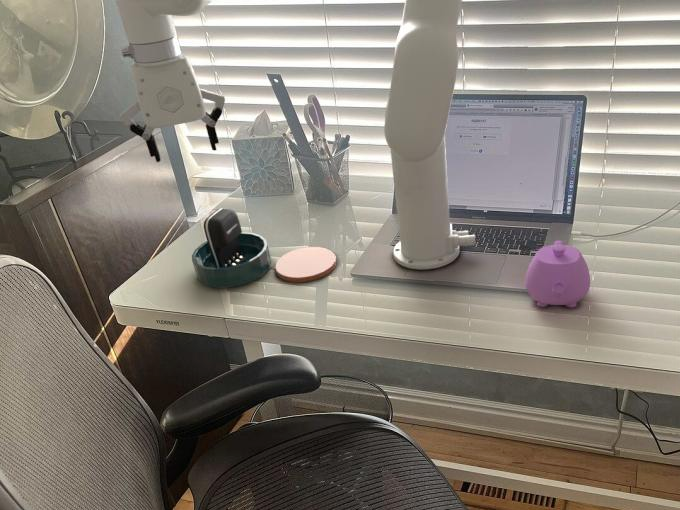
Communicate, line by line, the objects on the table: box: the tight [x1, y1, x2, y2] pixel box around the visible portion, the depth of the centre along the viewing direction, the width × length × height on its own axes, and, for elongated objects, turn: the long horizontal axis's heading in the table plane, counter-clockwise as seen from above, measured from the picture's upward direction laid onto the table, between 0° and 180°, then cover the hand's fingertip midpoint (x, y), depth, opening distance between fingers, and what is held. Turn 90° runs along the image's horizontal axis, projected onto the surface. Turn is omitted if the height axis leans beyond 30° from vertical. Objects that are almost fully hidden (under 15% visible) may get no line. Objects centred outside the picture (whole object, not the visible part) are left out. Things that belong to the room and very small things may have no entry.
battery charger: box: [203, 207, 246, 268], centre depth 129 cm, size 7×4×11 cm, turn 159°
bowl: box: [191, 231, 273, 288], centre depth 131 cm, size 14×14×4 cm
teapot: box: [524, 240, 591, 308], centre depth 111 cm, size 10×15×9 cm
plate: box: [274, 246, 337, 283], centre depth 131 cm, size 12×12×1 cm
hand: (186, 153), depth 120 cm, fingers open, 9 cm apart
